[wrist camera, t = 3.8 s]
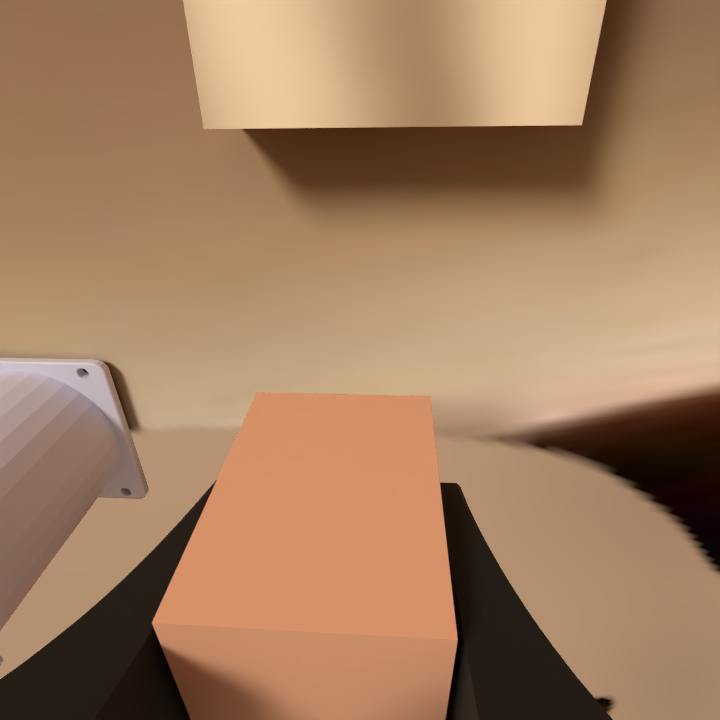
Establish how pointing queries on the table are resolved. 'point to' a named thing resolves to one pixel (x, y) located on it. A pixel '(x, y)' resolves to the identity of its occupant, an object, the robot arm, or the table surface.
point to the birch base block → (392, 62)
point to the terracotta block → (318, 569)
